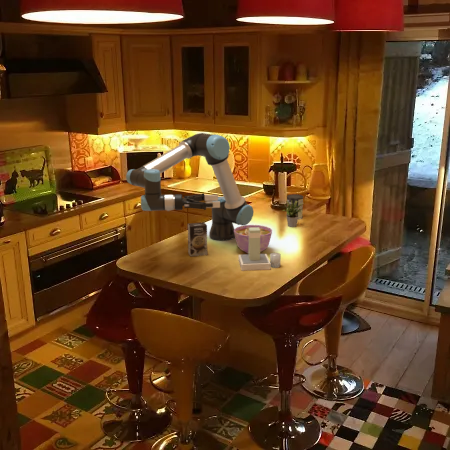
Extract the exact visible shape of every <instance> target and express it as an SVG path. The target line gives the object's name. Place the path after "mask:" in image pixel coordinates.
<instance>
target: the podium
mask: <svg viewBox="0 0 450 450" xmlns="http://www.w3.org/2000/svg"><path fill="white" fill-rule="evenodd" d="M238 263H239V267H240V270H241V271H242V272H244V271H265V270H267V271H269V270H271V268H272V267H271V263H270V258H269V257H268V254H267V253H260V260H249V257H248V253H246V254H238Z"/></svg>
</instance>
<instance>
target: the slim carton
mask: <svg viewBox="0 0 450 450" xmlns="http://www.w3.org/2000/svg"><path fill="white" fill-rule="evenodd" d="M248 235H249V247H248V253H247V254H248V257H249V260H260V254H261V252H260V229H259V227H254V228H249V230H248Z"/></svg>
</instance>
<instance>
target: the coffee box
mask: <svg viewBox="0 0 450 450" xmlns="http://www.w3.org/2000/svg"><path fill="white" fill-rule="evenodd" d="M187 251H188V252H187V253H188V255H189V256H190V257H199V255H200V256H207V255H208V225H207V224H206V223H205V222H195V223H194V222H191V223H187Z"/></svg>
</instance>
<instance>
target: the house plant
mask: <svg viewBox="0 0 450 450" xmlns="http://www.w3.org/2000/svg"><path fill="white" fill-rule="evenodd" d="M297 202H298V201H297ZM297 202H296V201H295V204H294V206H293V203H292V200H291V203H292V204H291V207H290V204H289V203H288V202H287V200H286V204H285V203H283V205H284V206H285V207H286V209H282V211H283V212H286V213H287V212H288V213H289V215H287V214H286V222H287V227H289V228H296V227H297V225H298V221H299V219H298V216H297V214H298V213H297V212H301V210H300V209H298V208H299V207H300V206H301V204H300V205H299V206H297V207H296V205H297ZM287 204H288V206H287ZM302 204H303V205H304V202H303V203H302ZM287 208H288V210H287ZM295 208H296V209H295ZM296 213H297V214H296ZM301 213H302V214H303V211H302V212H301Z"/></svg>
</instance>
